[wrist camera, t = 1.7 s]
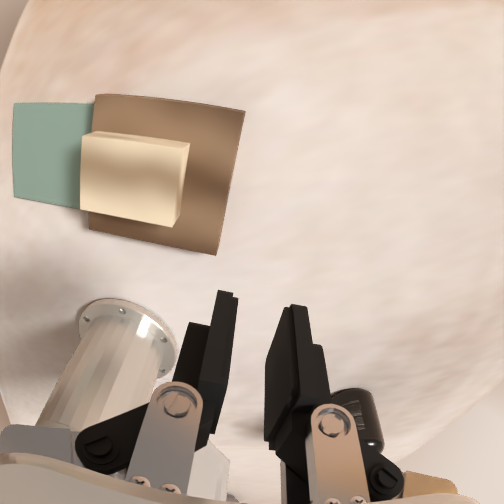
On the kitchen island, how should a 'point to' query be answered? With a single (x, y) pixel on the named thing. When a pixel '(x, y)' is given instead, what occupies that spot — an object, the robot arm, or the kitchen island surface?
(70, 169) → the rubber mat
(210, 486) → the grey triangular vase
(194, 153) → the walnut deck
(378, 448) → the supplement bottle
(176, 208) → the birch tile
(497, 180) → the kitchen island surface
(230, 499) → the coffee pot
